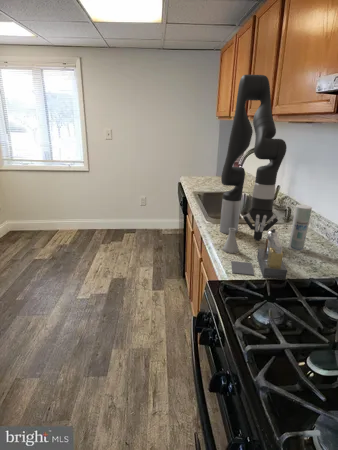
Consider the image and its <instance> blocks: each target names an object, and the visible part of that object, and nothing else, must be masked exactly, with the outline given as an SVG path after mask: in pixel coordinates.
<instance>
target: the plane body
mask: <svg viewBox="0 0 338 450" xmlns="http://www.w3.org/2000/svg"><path fill="white" fill-rule="evenodd" d="M269 248H273V246H272V243H271V241H270V240H268V239H267V238H265V244H264V248H258V249H257V254H256V258H257V262H258V265H259V268H260V273H261V276H262V278H263V279H270V280H271V279H272V280H280V281H281V280H282V279H287V275H288V268H287V267H286V264H285V263H284V262H285V261H284V260H283V259H282V264H281V268H278V267H269V264H268V261H267V260H268V254H269Z"/></svg>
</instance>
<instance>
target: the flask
mask: <svg viewBox="0 0 338 450" xmlns="http://www.w3.org/2000/svg"><path fill="white" fill-rule="evenodd" d="M235 231H236V229H235V228H229V234H227V239H226V241H225V243H224V244H223V246H222V248H221V250H222V251H223V252H225V253H230V254H235V253H239V246H238V242H237V238H236V233H235Z"/></svg>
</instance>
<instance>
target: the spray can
mask: <svg viewBox="0 0 338 450" xmlns="http://www.w3.org/2000/svg"><path fill="white" fill-rule="evenodd" d="M312 208H313V207H312V206H310V205H307V204H296V205H295V208H294V214H293V219H292V225H291V232H290V236H289V243H288V249H289V250H291V251H294V252H303V250H304V249H305V248H304V246H305V242H306V237H307V233H308V227H309V223H310V219H311V213H312Z"/></svg>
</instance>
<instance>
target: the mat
mask: <svg viewBox="0 0 338 450" xmlns="http://www.w3.org/2000/svg"><path fill="white" fill-rule="evenodd" d="M230 264H231V271H232V273H231V274H236V275H246V276H255V272H254V268H253V263H252V262H245V261H235V260H231V262H230Z"/></svg>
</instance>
